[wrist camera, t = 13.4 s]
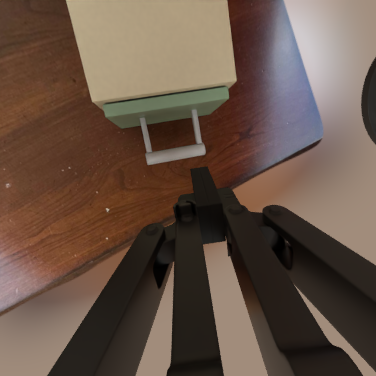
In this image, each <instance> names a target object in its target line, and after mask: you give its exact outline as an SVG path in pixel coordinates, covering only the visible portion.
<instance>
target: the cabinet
mask: <svg viewBox="0 0 376 376" xmlns="http://www.w3.org/2000/svg"><path fill="white" fill-rule="evenodd" d="M66 2H67V6H68V10H69V14H70V18H71V22H72V26H73V29H74V33H75V37H76V41H77V45H78V49H79V53H80V57H81V60H82V64H83V68H84V72H85V76H86V80H87V84H88V88H89V92H90V95H91V99H92V102H93V103H95V104H96V105H97V106H98V107H99V108H101V109H102V110H103V105H104V104H111V103H118V101H121V100H128V99H135V98H142V97H148V96H155V95H162V94H169V93H176V92H183V91H190V90H196V89H203V88H207V89H213V88H220V87H228V89H229V88H230V87H231V86H232V85H233V84H234V83H235V82H236V71H235V63H234V55H233V46H232V38H231V29H230V21H229V12H228V4H227V0H66ZM207 89H206V90H207ZM103 111H104V110H103Z"/></svg>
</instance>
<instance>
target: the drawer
mask: <svg viewBox="0 0 376 376" xmlns="http://www.w3.org/2000/svg"><path fill="white" fill-rule="evenodd" d="M206 89H207V88H203V89H196V90H190V91H183V92H176V93H169V94H162V95H155V96H148V97H142V98H135V99H128V100H121V101H118V103H111V104H104V105H103V110H104V114H105V117H106V118H107V119H109V120H110V121H111V122H113V123H114V124H116V125H117V126H119V127H120V128H121V129H123V128H129V127H135V126H141V128H142V132H143V137H144V142H145V146H146V151H147V153H146V154H145V155H146V160H147V164H148V165H151V164H157V163H162V162H167V161H173V160H178V159H184V158H189V157H194V156H200V155H205V146H204V144H203V143H202V141H201V134H200V128H199V122H198V116H203V115H209V114H211V113H212V112H213V111H214V110H216V109H217V108H218V107H219V106H220V105H222V104H223V103H224V102H225V101H226V100H228V99H229V93H228V87H220V88H213V89H207V90H206ZM191 117H192V121H193V127H194V133H195V139H196V144H195V145H189V146H183V147H178V148H172V149H167V150H161V151H155V152H152V149H151V144H150V139H149V134H148V130H147V124H153V123H160V122H166V121H172V120H178V119H184V118H191Z"/></svg>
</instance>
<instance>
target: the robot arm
mask: <svg viewBox="0 0 376 376" xmlns="http://www.w3.org/2000/svg"><path fill="white" fill-rule="evenodd" d="M190 170H191V177H192V183H193V190H194V193H191V194H184V195H181V196H180V197H179V198H178V202H177V203H176V204H175V205H174V206H173V209H174V213H175V218H176V221H175V222H174V223H173V224H172V225H169V226H167V227H163V225H162V224H159V223H154V224H149V225H147V226H146V227H144V228H143V229H142V230H141V232H140V233H139V235H138V236H137V238H136V239H135V241H134V242H133V244H132V245H131V247H130V249H129V250H128V252H127V253H126V255H125V256H124V258H123V259H122V261H121V263H120V264H119V266H118V267H117V269H116V270H115V272H114V273H113V275H112V277H111V278H110V280H109V281H108V283H107V285H106V286H105V287H104V289H103V290H102V292H101V293H100V295H99V297H98V298H97V300H96V301H95V303H94V304H93V306H92V307H91V309H90V310H89V312H88V314H87V315H86V317H85V318H84V320H83V321H82V323H81V324H80V326H79V328H78V329H77V331H76V332H75V334H74V335H73V337H72V339H71V340H70V342H69V343H68V344H67V346H66V348H65V349H64V351H63V352H62V354H61V355H60V357H59V358H58V360H57V361H56V363H55V365H54V366H53V368H52V369H51V371H50V372H49V374H48V375H47V376H135V375H136V372H137V369H138V366H139V363H140V360H141V357H142V355H143V351H144V349H145V346H146V343H147V340H148V337H149V334H150V331H151V328H152V325H153V322H154V319H155V316H156V313H157V310H158V307H159V304H160V301H161V298H162V295H163V292H164V289H165V286H166V283H167V280H168V277H169V274H170V271H171V268H172V264H173V262H174V289H173V319H172V350H171V364H170V367H169V369H168V370H167V376H224V374H223V367H222V361H221V355H220V349H219V343H218V337H217V331H216V325H215V318H214V312H213V306H212V300H211V293H210V287H209V281H208V274H207V268H206V262H205V256H204V250H203V244H209V243H215V242H222V241H226V239H227V249H228V256H230V257H231V260H232V263H233V266H234V269H235V272H236V275H237V279H238V282H239V285H240V288H241V291H242V294H243V298H244V301H245V304H246V307H247V310H248V313H249V317H250V320H251V323H252V326H253V329H254V332H255V335H256V339H257V341H258V345H259V348H260V351H261V354H262V358H263V361H264V364H265V367H266V370H267V373H268V376H363V375H362V373H361V372H360V370H359V369H358V367H357V366H356V364H355V363H354V362H353V360H352V359H351V358H350V357H349V355H348V354H347V353H346V352H345V351H344V350H343V349H341V348H339V347H336V346H334V345H332V344H331V343H330V342H329V341H328V339H327V338H326V336H325V335H324V333H323V331H322V330H321V328H320V326H319V325H318V323H317V322H316V320H315V318H314V317H313V315H312V313H311V312H310V310H309V309H308V307H307V305H306V304H305V302H304V301H303V299H302V297H301V295H300V294H299V292H298V291H297V289H296V287H297V288H298V289H299V290H300V291H301V292H302V293H303V294H304V295H305V296H306V297H307V299H308V300H309V301H310V302H311V303H312V304H313V305H314V306H315V307H316V308H317V309H318V310H319V311H320V313H321V314H322V315H323V316H324V317H325V318H326V319H327V320H328V321H329V322H330V323H331V324H332V325H333V326H334V328H335V329H336V330H337V331H338V332H339V333H340V334H341V335H342V336H343V337H344V338H345V339H346V340H347V342H348V343H349V344H350V345H351V346H352V347H353V348H354V349H355V350H356V351H357V352H358V353H359V354H360V355H361V357H362V358H363V359H364V360H365V361H366V362H367V363H368V364H369V365H370V366H371V367H372V368H373V369H374V371H375V372H376V265H374V264H373V263H371V262H369V261H368V260H366V259H365V258H363V257H362V256H360V255H359V254H357V253H355V252H354V251H352V250H351V249H349V248H347V247H346V246H344V245H343V244H341V243H340V242H338V241H337V240H335V239H334V238H332V237H330V236H329V235H327V234H326V233H324V232H322V231H321V230H319V229H318V228H316V227H315V226H313V225H312V224H310V223H308V222H307V221H305V220H304V219H302V218H301V217H299V216H297V215H296V214H294V213H293V212H291V211H290V210H288V209H287V208H284V207H282V206H278V205H270V206H266V207H265V208H263V213H257V212H250V211H248V209H247V208H246V207H245V206H243V205H241V204H240V203H239V201H238V199H237V198H236V196H235V194H234V192H233V191H232V190H231V189H230V188H228V187H227V188H220V189H216V186H215V184H214V181H213V179H212V177H211V174H210V172H209V169H208V167H200V168H194V169H190ZM225 236H226V238H225ZM294 285H295V286H296V287H295V286H294Z"/></svg>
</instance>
